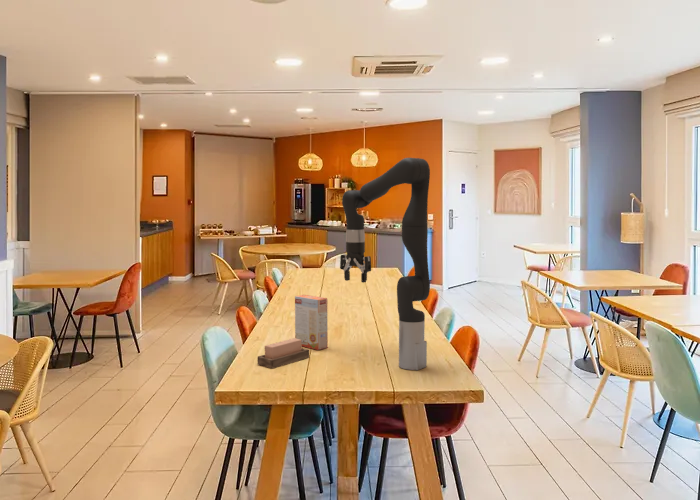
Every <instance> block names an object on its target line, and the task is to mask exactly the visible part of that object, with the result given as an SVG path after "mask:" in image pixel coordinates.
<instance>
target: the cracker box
mask: <svg viewBox="0 0 700 500" xmlns="http://www.w3.org/2000/svg"><path fill="white" fill-rule="evenodd" d="M328 326H329V325H328V298H327V297H323V296H316V295H315V296H314V295H309V294H300V295H295V296H294V328H295V329H294V333H295V334H294V336H295V337H294V338H296V339H300V340H301V346H302V348H306V349H307V348H309V349H312V350H316V351H320V350H324V349H328V345H329V343H328V341H329V339H328V333H329V332H328V329H329V328H328Z"/></svg>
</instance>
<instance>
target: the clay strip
mask: <svg viewBox="0 0 700 500" xmlns="http://www.w3.org/2000/svg"><path fill="white" fill-rule="evenodd" d="M302 348H303V346H301V340H300V339H296V338H295V337H293V338H290V339H286V340H282V341H278V342H275V343H270V344H266V345H264V355H265V358H269V359H275V358H279V357H282V356H286V355H289V354H293V353H296V352H300V351H302Z"/></svg>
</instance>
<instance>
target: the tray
mask: <svg viewBox="0 0 700 500" xmlns="http://www.w3.org/2000/svg"><path fill="white" fill-rule="evenodd" d="M309 358H310V349H307V348H304V347H302V351H300V352H296V353H293V354H289V355H286V356H282V357H279V358H275V359H269V358H265V354H262V355H259V356H257V365H258V366H262V367H265V368H269V369H276V368H278V367H282V366H286V365H288V364H293V363H295V362H299V361H302V360H305V359H309Z"/></svg>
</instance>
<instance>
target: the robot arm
mask: <svg viewBox="0 0 700 500" xmlns="http://www.w3.org/2000/svg"><path fill="white" fill-rule="evenodd" d="M429 165H430V164H429V162H428V161H427V160H426V159H424V158H420V157H404V158H402V159H401V160H400V161H398V162H396V163H395V164H394V165H393V166H392V167H391V168H390V169H388V170H387V171H386V172H384V173H383V174H381V175H380V176H378V177H376V178H375V179H372V180H369V181H368V182H366V183H364V184H363V185H362V186H361V188H360V189H359V190H358V189H356V190H353V189H352V190H350V189H349V190H346V191H345V192H344V193H343V194H342V199H341V201H342V202H341V203H342V208H343V212H344V215H345V218H346V221H345V222H346V229H345V230H346V233H345V252H346V253H345V254H341V255H340V257H339V259H340V260H339V262H340V263H339V269H340V270H343V274H344V275H343V276H344V280H345V281H347V282H348V281H350V280H351V275H350V274H351V272H350V269H351V268H353V267H354V268H358V269H359V270H360V272H361V273H360V277H361V279H360V281H361V283H363V284H364V283H366V282H367V281H368V273H369V272H372V258H371V256H370V255H369V256H365V251H366V245H365V244H366V240H365V239H366V234H365V217H364V215H363V214H360V213H358V211H357V209H363V208H365V207H368V206H369V205H370V204H371V203H373V202H374V201H375V200H378V199H379V198H382V197H384V196H385V195H386V194H387V193H388V192H389V190H391V188H393V187H396V186H399V185H403V184H406V185H410V186H411V193H410V194H411V195H410V201H409V203H408V205H407V207H406V210H405V212H404V214H403V217H402V219H401V220H402V221H401V241H402V243H403V245H404V247H405V249H406V250H407V253H409V255H410V257H411V259H412V263H413V267H414V275H406V276H401V277H400V278H399V279H398V280H397V284H396V300H397V304H396V305H397V312H398V317H399V318H398V367H399V368H401V369H404V370H413V371H419V370H422V369H424V368H426V367H427V363H428V362H427V356H428V355H427V349H428V345H427V344H428V343H427V341H426V340H425V326H426V325H425V318H426V317H425V312H424V311H422V310H420V309H417V308H414V302H422V301H426V300H427V299H428V298H429V295H430V291H431V289H430V287H431V285H430V284H431V283H430V274H429V273H430V272H429V262H428V261H429V259H428V237H429V236H428V234H429V233H428V232H429V231H428V202H429V201H428V198H429V189H430V177H431V169H430V166H429Z"/></svg>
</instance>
